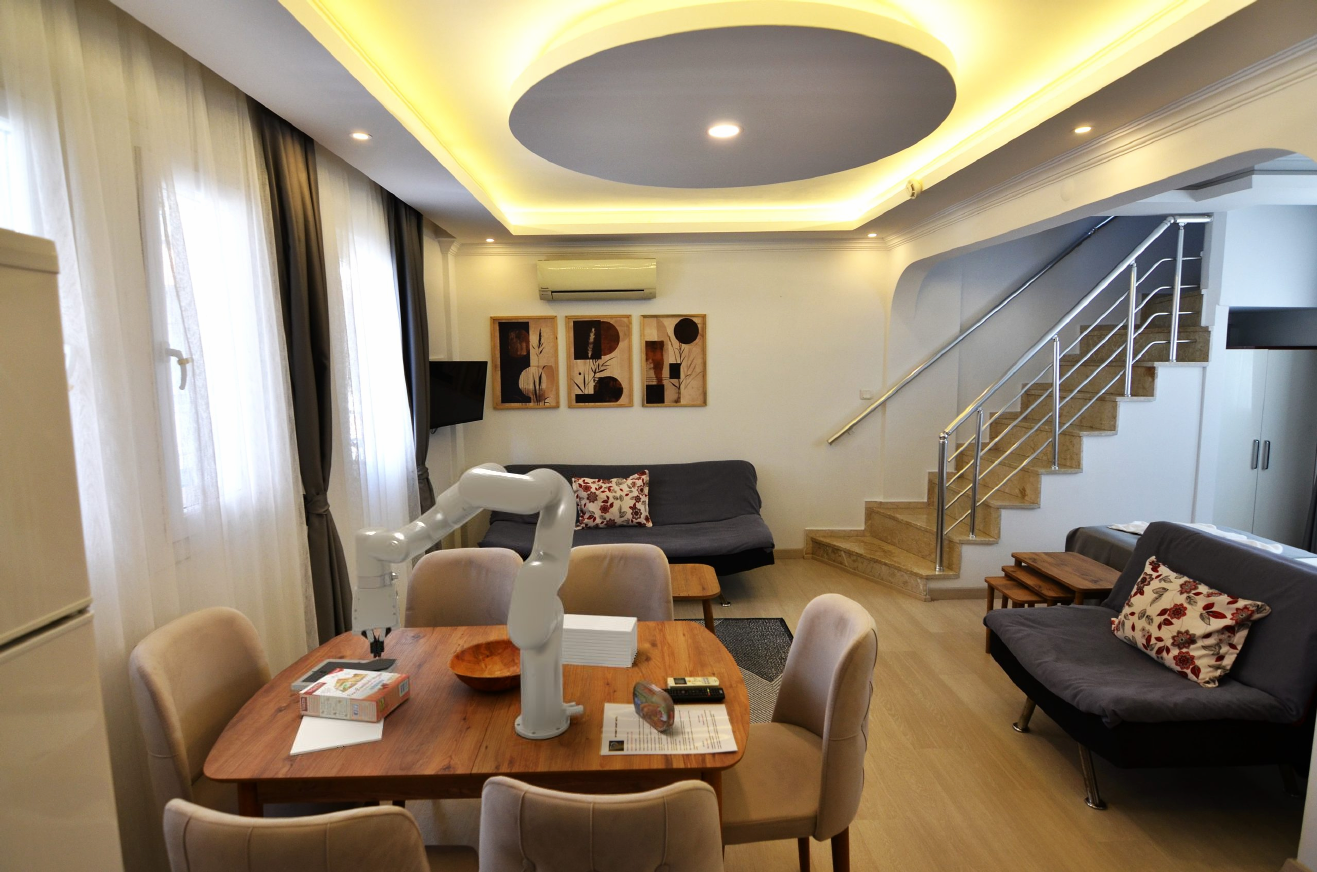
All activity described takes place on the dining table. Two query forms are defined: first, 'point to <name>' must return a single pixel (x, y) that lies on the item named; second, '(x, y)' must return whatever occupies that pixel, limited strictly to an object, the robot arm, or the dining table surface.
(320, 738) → the white flat panel
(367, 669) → the picture frame
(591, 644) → the stack of papers
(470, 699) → the dining table surface
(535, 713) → the robot arm
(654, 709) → the tin
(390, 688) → the cracker box
